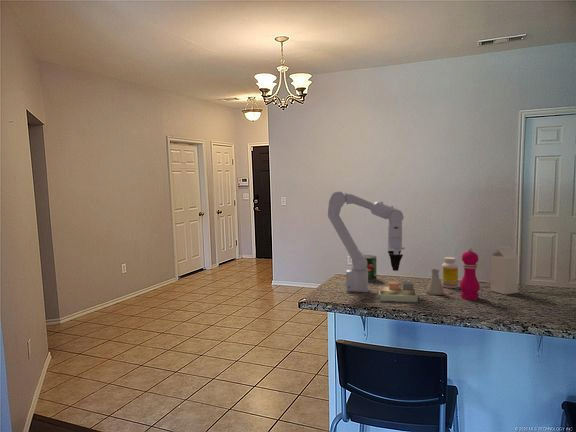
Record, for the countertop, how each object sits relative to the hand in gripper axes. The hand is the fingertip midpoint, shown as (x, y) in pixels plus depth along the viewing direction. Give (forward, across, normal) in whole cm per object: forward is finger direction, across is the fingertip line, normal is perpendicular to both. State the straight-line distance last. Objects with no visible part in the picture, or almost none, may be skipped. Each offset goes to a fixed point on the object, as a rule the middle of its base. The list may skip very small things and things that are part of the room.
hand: (394, 268), depth 176 cm
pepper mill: (+9, -9, -28) cm, 31 cm away
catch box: (+9, -15, 0) cm, 18 cm away
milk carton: (+9, +2, -44) cm, 45 cm away
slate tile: (+7, -7, -5) cm, 11 cm away
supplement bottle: (+9, +9, -24) cm, 27 cm away
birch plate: (+9, -8, 0) cm, 12 cm away
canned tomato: (+10, +21, +11) cm, 26 cm away
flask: (+10, -3, -16) cm, 19 cm away
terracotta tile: (+7, -7, +1) cm, 10 cm away
